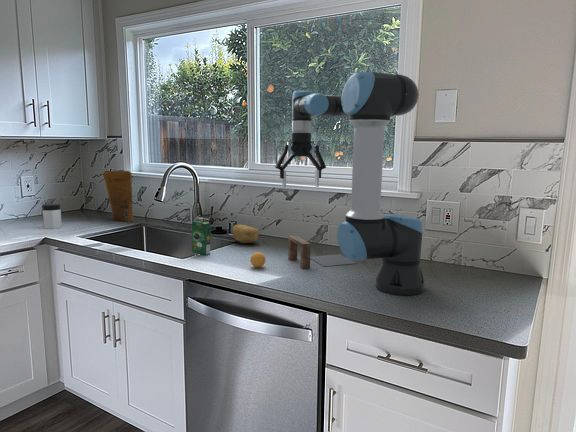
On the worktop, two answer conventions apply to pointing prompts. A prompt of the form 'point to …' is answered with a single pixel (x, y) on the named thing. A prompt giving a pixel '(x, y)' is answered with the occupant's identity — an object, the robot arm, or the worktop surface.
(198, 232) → the coffee box
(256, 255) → the ball
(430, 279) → the worktop surface
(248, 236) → the potato
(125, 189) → the pancake mix bag
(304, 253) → the bridge
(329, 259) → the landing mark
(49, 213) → the jar
